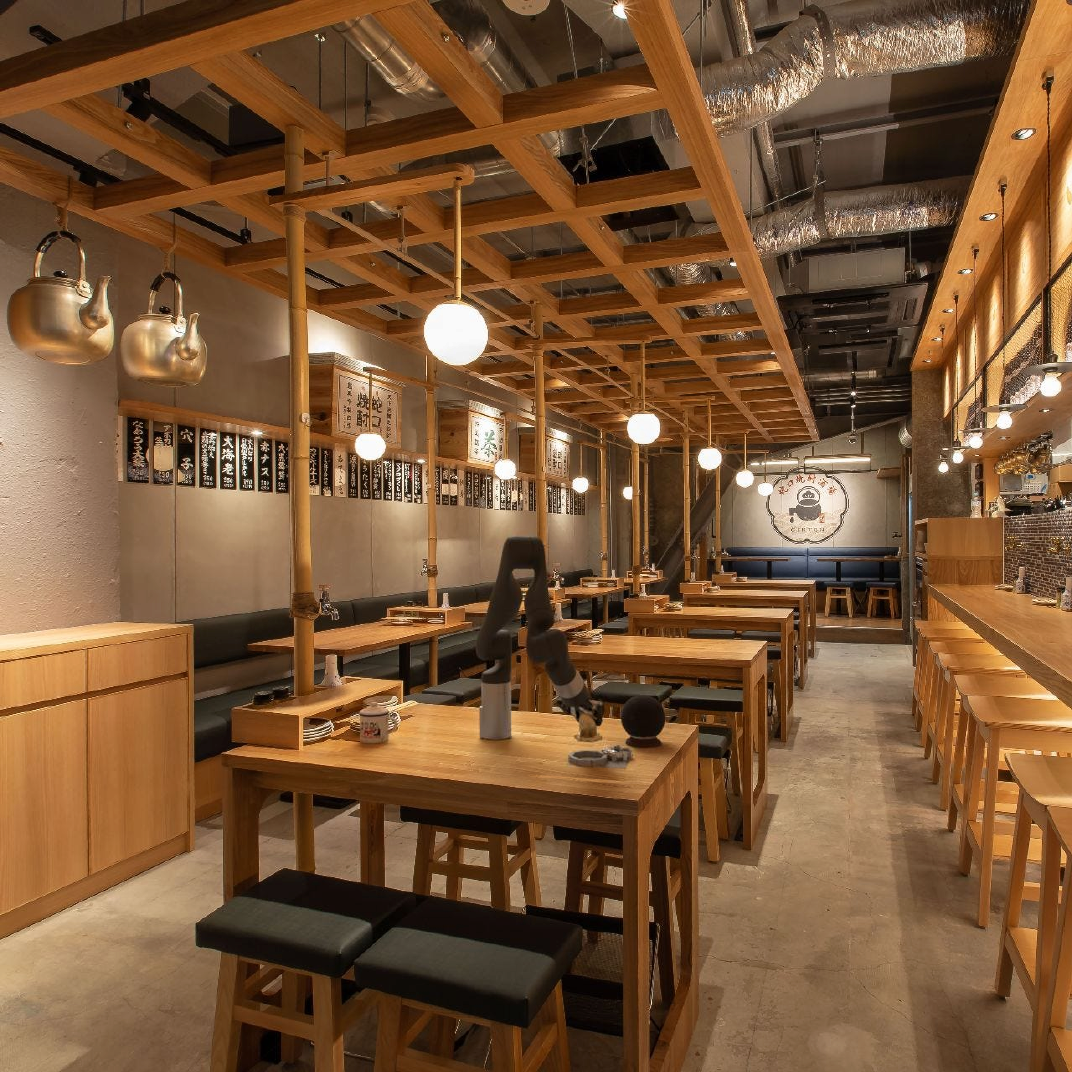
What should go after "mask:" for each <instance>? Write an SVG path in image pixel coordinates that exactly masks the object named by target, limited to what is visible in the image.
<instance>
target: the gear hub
mask: <svg viewBox="0 0 1072 1072" xmlns="http://www.w3.org/2000/svg"><path fill="white" fill-rule="evenodd" d="M593 713H595V712H594V711H593ZM573 739H575V740H576V741H577V742H579V743H595V742H600V741H602V740H603V735H602V734H600V732H598V726H597V725H596V723H595V722H594V720H593V718H592V717H591V716H590V715H589V716H588V715H587V714H586V713H585V712H584V711H579V722H578V732H577V733H573Z"/></svg>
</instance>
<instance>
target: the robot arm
mask: <svg viewBox="0 0 1072 1072" xmlns="http://www.w3.org/2000/svg"><path fill="white" fill-rule="evenodd" d="M546 559H547V557H546V549H545V545H544V542H543V540H542V539H541V538H540V537H538V536H534V535H533V536H532V535H510V536H508V537H507V538H506V539H505V542H504V544H503V546H502V551H501V557H500V560H499V561H500V562H499V569H498V572H497V576H496V580H495V583H494V586H493V589H492V592H491V594H490V595H491V596H490V598H489V601H488V606H487V609H486V610H487V611H486V614H485V617H484V620H483V621H482V624H481V627H480V629H479V631H478V633H477V635H476V641H475V654H476V656H477V657H478V658H479V660H483V661H497V663H496V664H495V665H493V667H491V668H489V669H488V668H487V670H484V671H482V673H481V676H480V677H481V678H480V679H481V680H480V681H481V682H480V683H481V686H480V687H481V705H480V706H479V707H478V708H479V711H478V713H479V718H478V719H479V738H481V739H485V740H491V741H494V740H495V741H498V740H506V739H509V738H511V737H512V680H511V678H512V677H511V676H512V657H513V656H512V654H513V653H512V652H513V639H512V638H513V637H512V635H511V633H510V631H509V630H507V629H504V628H505V627H506V626H507V625H509V624H510V623H511V622H512V621H513V620H515V619H516V617H517V616H518V614H519V613H520V608H521V607H522V603H523V606H524V607H523V608H524V612H525V617H526V621H527V629H526V631H527V632H526V639H525V651H526V655H527V657H528V659H529V660H530V661H531V662H532V663H534V664H536V665H540V664H543V663H544V670H545V673H546V674H547V676H548V678H549V679H550V682H552V685H553V688H554V690H555V692H556V693H557V694H558V696H557V699H556V702H555V704H556V706H558V707H559V709H560V710H561V711H562V712H563V713H564V714H565V715H566V716H570V715H571V716H572V717H573V718H575V720H576V721H577V723H579V711H584V712H585V713H586V714H587V715H588V716H589V715H590V716H591V717H592V718H593V720H594V722H595V723H596V725H597V727H601V726H602V724H603V717H604V715H605V711H606V710H605V705H604V699H601V698H599V699H598V701H597V700H594V698H593V697H592V696H590V693H589V688H588V687H587V685H586V682H585V680H584V679H583V677H582V675H581V674H580V672H579V671H578V670H577V669H576V666H575V665H574V663H573V661H572V660H571V657H570V652H569V643H568V639H567V636H566V633H564V631H562V630H561V629H559V628H552V627H553V626H555V614H554V611H553V607H552V603H551V599H550V594H549V593H550V592H549V581H548V570H547V569H548V567H547V560H546ZM514 570H533V572H534V576H533V579H532V581H531V583H530V585H529V587H528V589H527V590H526V591H525V595H524V594H523V590H522V588H521V586H520V584H519V583H518V581H517V580H516V578H515V576H514V574H513V572H514ZM593 711H594V712H595V713H593Z"/></svg>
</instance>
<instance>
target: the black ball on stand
mask: <svg viewBox="0 0 1072 1072" xmlns="http://www.w3.org/2000/svg"><path fill="white" fill-rule="evenodd" d="M666 719H667V717H666V713H665V709H664V707H663V706H662V703H660V702H659V701H658V700H657V699H656V698H654V697H652V696H650V695H648V694H647V695H646V694H638V695H635V696H632V697H630V698H629V699H628V700H626V702H625V703H624V705H623V707H622V708H621V712H620V721H621V726H622V728H623V730H624V731H625V732H626V733H627V734H628V736H629V737H627V739H625V742H624V743H625V745H626V746H628V747H631V748H632V747H633V748H638V749H651V748H658V747H661V746H662V741H661V739H660V738H658V736H659V735H660V734H661V733H662V731H663V729H664V727H665V724H666Z"/></svg>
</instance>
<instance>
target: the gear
mask: <svg viewBox="0 0 1072 1072" xmlns="http://www.w3.org/2000/svg"><path fill="white" fill-rule="evenodd" d="M601 752H603V754H608V760H612V761H627V759H633V756H632V754H633V752H632V750H631V748H629V747H623V746H620V745H619V744H614V745H613V746H606V747H605V748H602V749H601Z"/></svg>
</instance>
